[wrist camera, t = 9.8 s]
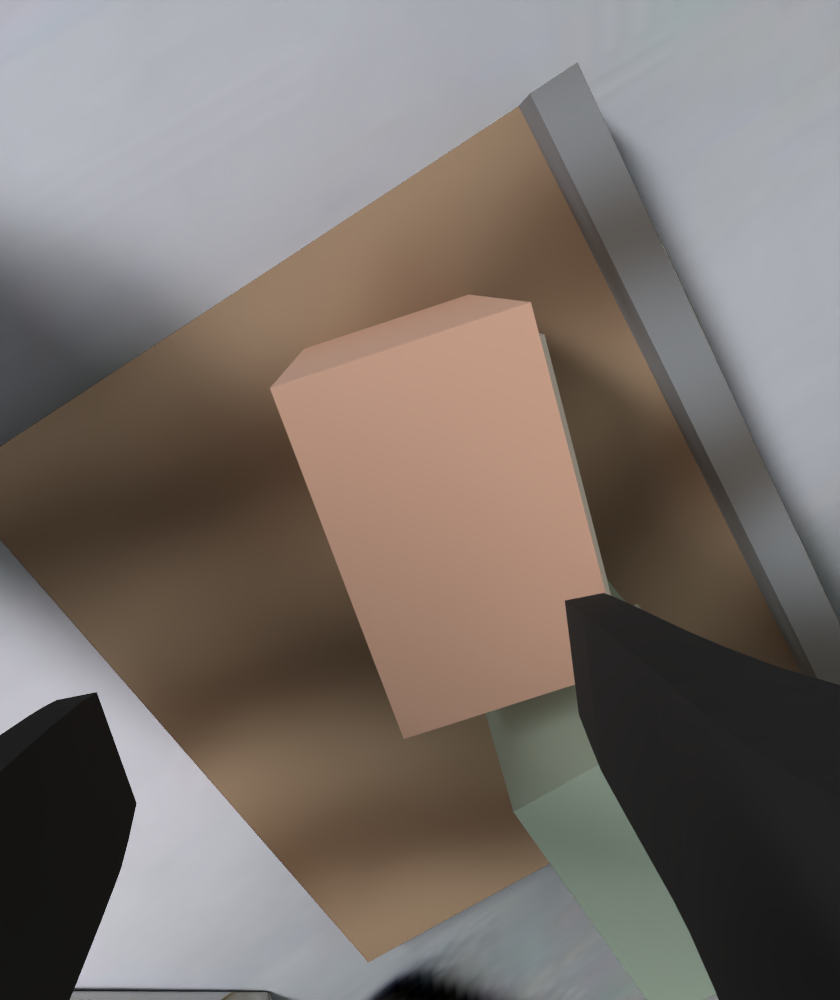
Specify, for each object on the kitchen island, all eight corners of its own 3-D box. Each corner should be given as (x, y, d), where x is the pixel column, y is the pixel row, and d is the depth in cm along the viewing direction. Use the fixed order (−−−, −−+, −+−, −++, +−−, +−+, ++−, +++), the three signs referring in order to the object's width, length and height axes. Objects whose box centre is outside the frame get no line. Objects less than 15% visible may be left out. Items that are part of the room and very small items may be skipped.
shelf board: (-28, 468, 20) (-79, 493, 17) (556, 86, 18) (585, 57, 16) (367, 931, 25) (368, 995, 23) (838, 673, 24) (889, 714, 21)
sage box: (574, 806, 23) (661, 1021, 16) (465, 643, 21) (513, 812, 14) (704, 734, 23) (848, 925, 16) (605, 561, 21) (722, 696, 14)
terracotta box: (390, 588, 20) (403, 739, 14) (303, 349, 18) (270, 387, 12) (548, 537, 20) (640, 663, 14) (479, 290, 18) (548, 296, 11)
